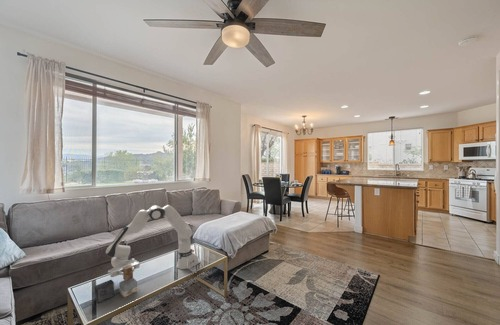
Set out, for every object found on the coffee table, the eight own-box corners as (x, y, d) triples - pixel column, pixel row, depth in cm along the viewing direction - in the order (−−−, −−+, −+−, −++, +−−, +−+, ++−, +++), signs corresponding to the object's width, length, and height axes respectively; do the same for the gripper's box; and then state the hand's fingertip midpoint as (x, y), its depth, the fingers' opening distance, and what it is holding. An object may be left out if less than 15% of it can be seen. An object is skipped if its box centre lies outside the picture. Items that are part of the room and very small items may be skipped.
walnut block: (130, 275, 161) (130, 264, 161) (132, 278, 158) (133, 266, 158) (123, 278, 157) (123, 266, 157) (125, 281, 154) (125, 269, 154)
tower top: (132, 282, 164) (132, 277, 164) (137, 286, 158) (137, 281, 158) (119, 287, 157) (119, 282, 157) (124, 292, 151) (124, 286, 151)
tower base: (132, 287, 164) (132, 282, 164) (137, 291, 158) (137, 286, 158) (119, 292, 157) (119, 287, 157) (124, 297, 151) (124, 292, 151)
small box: (111, 292, 156) (111, 278, 156) (114, 296, 152) (114, 282, 152) (94, 299, 148) (94, 285, 148) (97, 303, 144) (97, 289, 144)
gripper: (107, 267, 158) (112, 273, 149) (135, 257, 173) (142, 263, 164) (106, 275, 158) (112, 282, 149) (135, 265, 174) (142, 271, 165)
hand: (128, 272), depth 157 cm, fingers closed on walnut block, 5 cm apart
